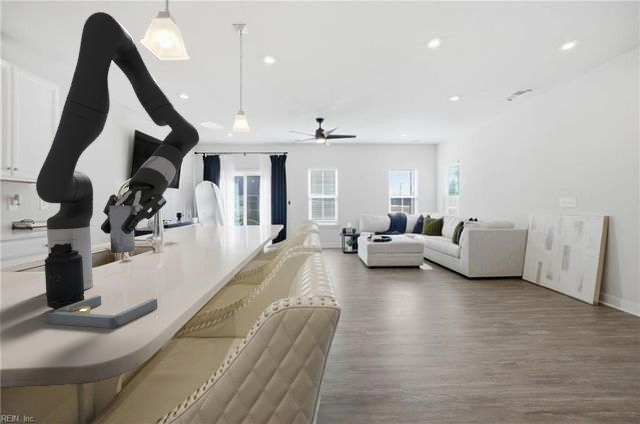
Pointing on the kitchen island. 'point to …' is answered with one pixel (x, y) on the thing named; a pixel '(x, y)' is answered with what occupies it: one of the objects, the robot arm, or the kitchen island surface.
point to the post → (117, 236)
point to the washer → (80, 310)
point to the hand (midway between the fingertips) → (114, 231)
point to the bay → (97, 319)
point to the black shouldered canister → (64, 276)
